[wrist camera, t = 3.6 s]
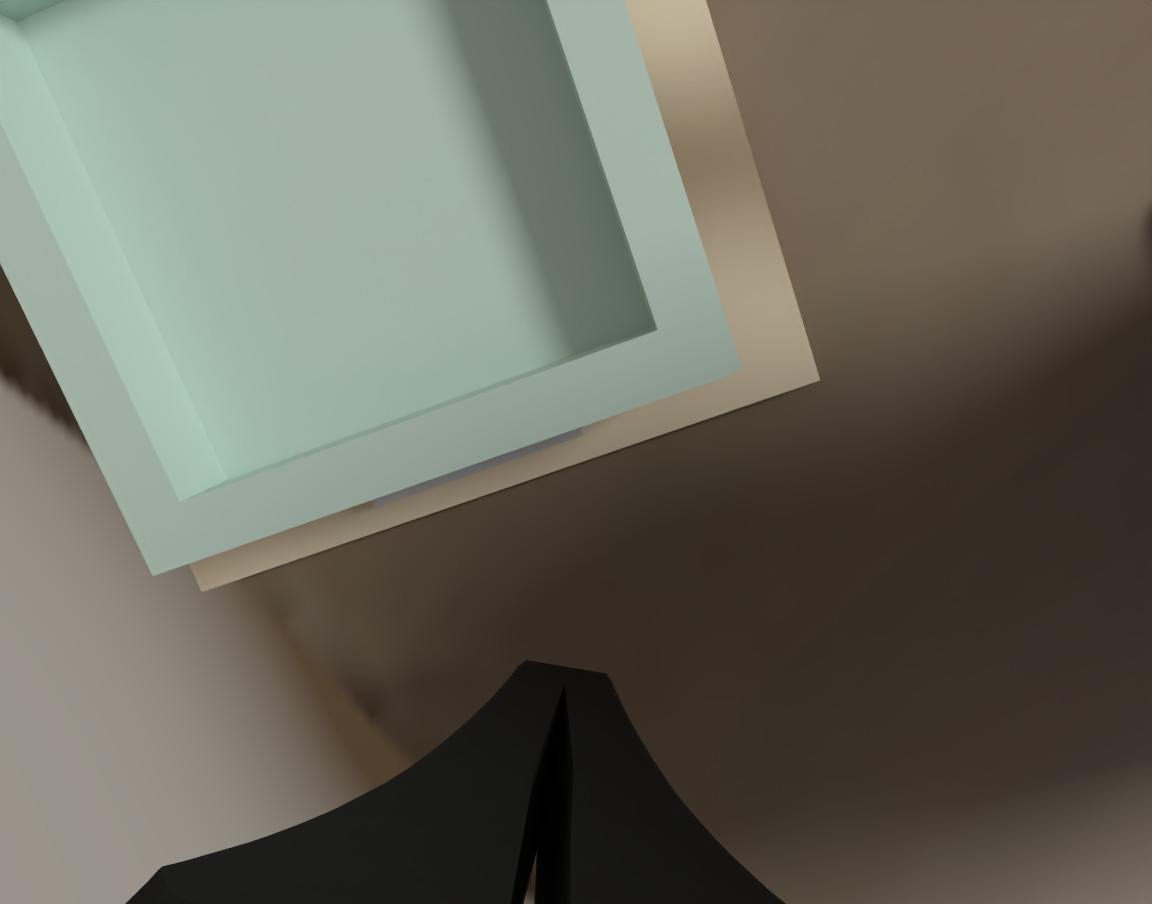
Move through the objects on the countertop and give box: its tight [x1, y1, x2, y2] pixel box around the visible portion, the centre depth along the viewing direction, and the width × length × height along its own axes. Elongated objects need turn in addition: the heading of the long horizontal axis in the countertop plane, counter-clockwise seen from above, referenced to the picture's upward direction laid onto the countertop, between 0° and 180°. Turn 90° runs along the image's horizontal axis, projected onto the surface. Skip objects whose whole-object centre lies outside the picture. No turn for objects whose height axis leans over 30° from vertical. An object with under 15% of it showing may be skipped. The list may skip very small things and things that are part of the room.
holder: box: [0, 0, 743, 576], centre depth 10 cm, size 8×8×2 cm
